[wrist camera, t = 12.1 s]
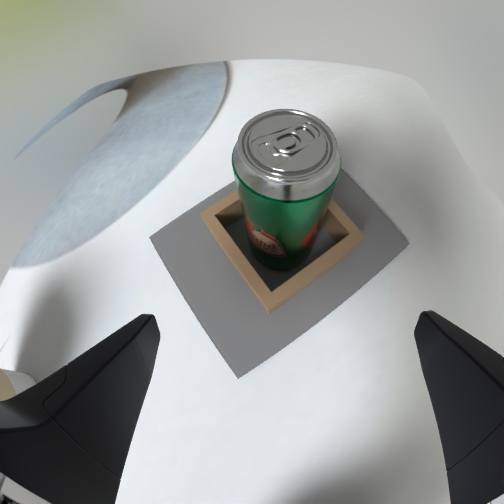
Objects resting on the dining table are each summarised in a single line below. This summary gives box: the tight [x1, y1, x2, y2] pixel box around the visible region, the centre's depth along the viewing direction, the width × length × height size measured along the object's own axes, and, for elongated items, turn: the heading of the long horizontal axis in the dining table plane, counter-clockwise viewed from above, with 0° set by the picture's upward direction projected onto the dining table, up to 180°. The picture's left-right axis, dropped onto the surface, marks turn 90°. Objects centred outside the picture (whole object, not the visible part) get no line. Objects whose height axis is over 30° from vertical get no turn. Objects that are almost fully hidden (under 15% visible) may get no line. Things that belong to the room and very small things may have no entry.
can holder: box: [149, 168, 409, 379], centre depth 21 cm, size 18×14×3 cm
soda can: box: [232, 109, 341, 271], centre depth 17 cm, size 5×5×12 cm
